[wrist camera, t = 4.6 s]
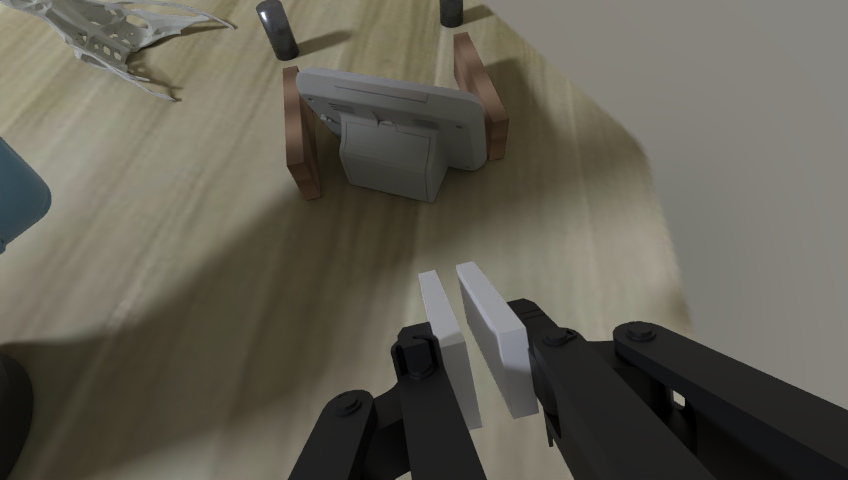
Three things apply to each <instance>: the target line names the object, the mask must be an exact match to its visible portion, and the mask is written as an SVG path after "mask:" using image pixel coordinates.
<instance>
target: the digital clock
mask: <svg viewBox="0 0 848 480" xmlns="http://www.w3.org/2000/svg"><path fill="white" fill-rule="evenodd" d="M296 86H297V89H298V91H299V93H300V95H301V97H302V98H303V99H304V100H305V101H306V103H307V104H308V105H309V106H310V107H311V108H312V110H313V111H314V112H315V113H316V114H317V115H318V116H319V118H320V119H321V120H322V121H323V122H324V123H325V124H326V126H327V127H328V128H329V129H330V130H331V131H332V132H333V134H334V135H335V136H336V137H337V138H338V139H339V140H340V141H341V144H340V149H339V156H340V159H341V162H342V165H343V168H344V171H345V173H346V176H347V179H348V181H349V183H350V184H353V185H357V186H361V187H365V188H370V189H374V190H378V191H382V192H387V193H391V194H395V195H399V196H404V197H408V198H412V199H417V200H421V201H425V202H429V203H433V202H434V201H435V198H436V196H437V193H438V191H439V188H440V186H441V184H442V181H443V179H444V176H445V174H446V171H447V169H448V167H454V168H458V169H464V170H469V171H474V170H477V169H479V168H480V167H481V166H483V164H484V163H485V161H486V158H487V150H486V136H485V122H484V112H483V108H482V106H481V103H480V102H479V100H478V98H477V96H476V95H474V94H472V93H469V92H465V91H460V90H454V89H448V88H442V87H436V86H430V85H424V84H418V83H412V82H406V81H399V80H393V79H387V78H381V77H375V76H369V75H362V74H356V73H350V72H344V71H338V70H331V69H325V68H318V67H310V68H307V69H305V70H303V71H301V72H298V73H297V76H296Z"/></svg>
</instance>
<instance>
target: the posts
mask: <svg viewBox="0 0 848 480" xmlns="http://www.w3.org/2000/svg"><path fill="white" fill-rule="evenodd" d="M256 10H257V13H258V15H259V17H260V20H261V22H262V24H263V27H264V29H265V31H266V34H267V36H268V38H269V41H270V43H271V45H272V48H273V50H274V52H275V55H276V57H277V58H278V59H279V60H283V61H285V60H290V59H293V58H295V57H296V56H297V55H298V54H299V49H298V47H297V44H296V41H295V38H294V36H293V33H292V30H291V28H290V25H289V22H288V20H287V17H286V14H285V12H284V9H283V6H282V3H281V2H280V1H279V0H266V1H263V2H261V3H260V4H259V5H258V6H257V7H256ZM462 22H463V0H440V23H441V24H442V25H443V26H445V27H449V28H452V27H457V26H459V25H461V24H462Z"/></svg>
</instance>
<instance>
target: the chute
mask: <svg viewBox="0 0 848 480" xmlns="http://www.w3.org/2000/svg"><path fill="white" fill-rule="evenodd" d="M298 72H299V70H298V67H297V66H293V67H288V68H283V86H284V110H285V134H286V159H287V167H288V169H289V171H290V173H291V174H292V176H293V178H294V180H295V182H296V184H297V185H298V187H299V189H300V191H301V193H302V195H303V196H304V198H305V200H310V199H315V198H320V197H321V193H320V182H319V172H318V162H317V151H316V141H315V131H314V121H313V110H312V108H311V107H310V106H309V105H308V104H307V103H306V101H305V100H304V99H303V98H302V97H301V95H300V93H299V91H298V89H297V86H296V76H297V73H298ZM454 76H455V79H456V81H457V84H458V86H459V88H460V91H465V92H469V93H472V94H474V95H476V96H477V98H478V100H479V102H480V103H481V106H482V108H483V112H484V122H485V136H486V150H487V157H488V159H489V161H491V160H496V159H500V158H504V152H505V145H506V138H507V131H508V124H509V117H508V115H507V113H506V111H505V109H504V107H503V105H502V103H501V101H500V99H499V97H498V95H497V93H496V91H495V88H494V86H493V84H492V82H491V80H490V78H489V76H488V74H487V72H486V70H485V68H484V66H483V64H482V62H481V59H480V57H479V55H478V53H477V51H476V49H475V47H474V45H473V43H472V41H471V39H470V37H469V35H468V33H467V32H464V33H459V34H454Z"/></svg>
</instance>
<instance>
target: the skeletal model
mask: <svg viewBox="0 0 848 480" xmlns="http://www.w3.org/2000/svg"><path fill="white" fill-rule="evenodd" d="M0 2H1V3H3V4H5V5H7V6H9V7H11V8H15V9H18V10H21V11H24V12H27V13H30V14H33V15H36V16H38V17H40V18H41V19H43V20H44V21H45V22H46V23H47V24H48V25H50V26H51V27H52V28H53V29H54V30H55V31H56V32H57V33H58V34H59V35H61V36H62V37H63V39H64V41H65V43H67V44H69V45H70V46H71V47H72V48H73V49H74V55H75V56H76V57H77V59H79V60H82V61H84V62H86V63H88V64H89V65H91V66H93V67H96V68H99V69H103V70H106V71H109V72H112V73H115V74H118V75H119V76H121V77H122V78H124V79H126V80H128V81H129V82H131V83H133V84H135V85H136V86H138V87H140V88H141V89H143V90H145V91H147V92H149V93H151V94H153V95H155V96H158V97H161V98H164V99H167V100H170V101H172V102H176V100H175V99H173V98H171V97H169V96H167V95H165V94H160V93H155V92H153V91H151V90H149V89H147V88H145V87H143V86H141V85H140V84H138V83H136V82H134V81H132V80H131V79H134V80H140V81H149V80H150V79H146V78H142V77H136V76H133V75H131V74H129V73H127V69H128V66H127V65H126V64H125V62H126V58H127V55H128V54H129V53H130V51H133V52H137V51H138V50H139V49H140V48H141V47H146V46H148V45H150V44H152V43H154V42H155V41H157V40H158V39H160V38H163V37H165V36H168V35H172V34H181V32H180V30H181V29H183V28H185V27H187V26H190V25H193V24H196V23H199V22H203V21H207V20H209V18H207V17H210V18H212V19H214V20H217V21H219V22H221V23H223V24H224V25H226V26H228V27H230V28H231V29H233V30H235V29H234V27H233V26H232V25H230V24H228V23H226V22H224V21H222V20H220V19H218V18H216V17H214V16H212V15H209V14H207V13H204V12H202V11H199V10H197V9H194V8H191V7H188V6H185V5H181V4H176V3H170V2H163V1H149V0H127V1H108V2H101V1H97V0H0ZM133 3H140V4H156V5H164V6H171V7H176V8H180V9H183V10H187V11H190V12H194V13H197V14H200V15H198V16H196V17H188V16H179V15H163V14H157V13H153V12H148V11H144V10H139V9H133V10H132V11H130V10H127V9H125V8H124V7H123V4H133ZM109 10H114V11H115V12H116V14H117V15H113V14H111V12H110V11H109ZM131 14H133V15H135V16H137V17H140V18H142V19H143V20H144V21H145V22H146V23H147V25H148V29H146V28H141V27H138V26H135V25H133V24H130V23H128V22H127V21H126V16H128V15H131ZM206 16H207V17H206ZM90 21H91V22H96V23H99V24H101V25H95V24H93V23H91V22H90ZM113 33H114V34H117V35H118V37H113V38H110V37H109V36H110V35H112V34H113ZM130 33H134V34H133V35H130ZM79 34H80V35H79ZM127 34H128V35H127ZM144 34H145V35H144ZM83 36H87V38H86V42H84V40H83ZM124 39H126V40H128V41H129V42H130V43H131V44H133V45H135V46H136V47H133V46H132V45H131V44H127V43H124V42H123V41H121V40H124ZM76 40H77V41H76ZM95 44H97V45H98V47H99V49H95V47H94V45H95ZM82 46H84V47H82ZM104 46H106V47H107V48H109V49H110V56H109V55H107V54H106V53H104V50H103V47H104ZM114 52H116V53H119V54H120V56H121V61H120V60H118V59H115V56H114ZM95 53H96V54H95ZM108 60H109V61H111V62H109V61H108ZM112 62H114V63H112ZM116 63H117V64H116Z"/></svg>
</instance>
